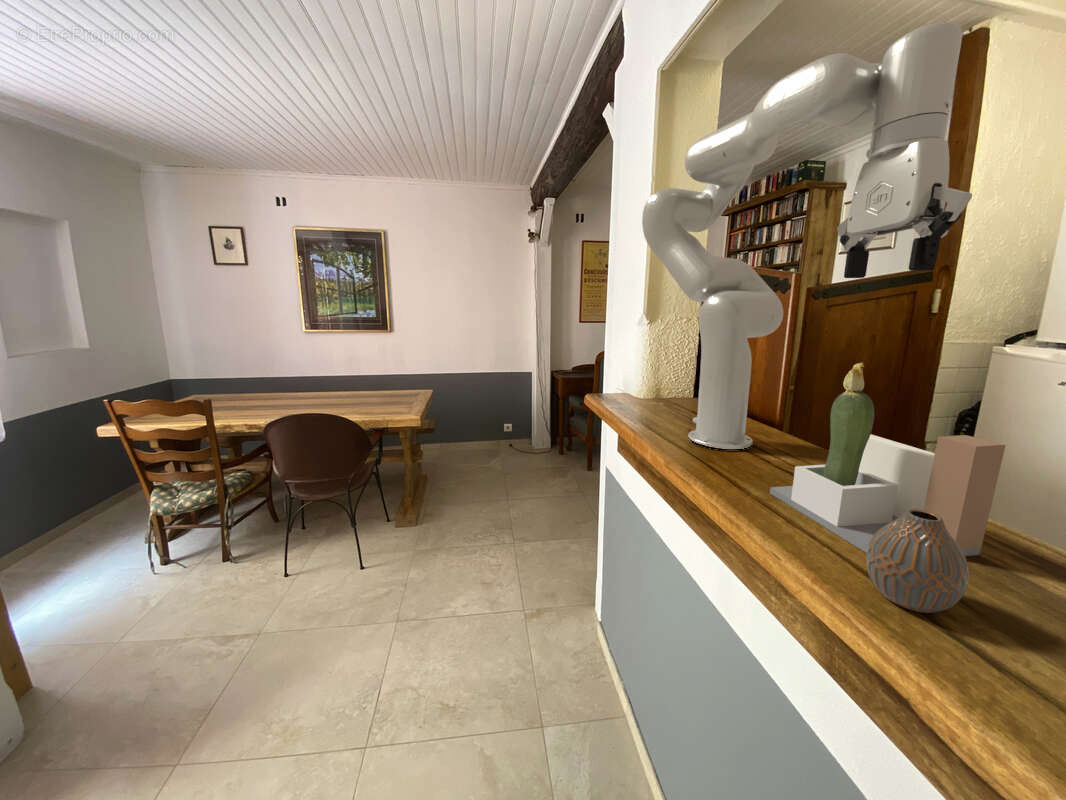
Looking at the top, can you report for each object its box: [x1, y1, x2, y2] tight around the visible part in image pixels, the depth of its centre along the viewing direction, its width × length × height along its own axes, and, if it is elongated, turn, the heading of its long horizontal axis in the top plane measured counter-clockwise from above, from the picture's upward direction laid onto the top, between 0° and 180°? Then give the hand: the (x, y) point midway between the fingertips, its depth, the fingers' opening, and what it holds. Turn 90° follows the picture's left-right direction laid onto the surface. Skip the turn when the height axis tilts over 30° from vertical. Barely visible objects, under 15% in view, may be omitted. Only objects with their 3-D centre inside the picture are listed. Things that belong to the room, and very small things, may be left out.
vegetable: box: [823, 362, 875, 486], centre depth 51 cm, size 4×4×20 cm
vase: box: [865, 509, 970, 614], centre depth 37 cm, size 7×7×9 cm
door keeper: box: [769, 433, 1007, 557], centre depth 52 cm, size 18×12×13 cm, turn 7°
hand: (885, 274), depth 57 cm, fingers open, 9 cm apart
